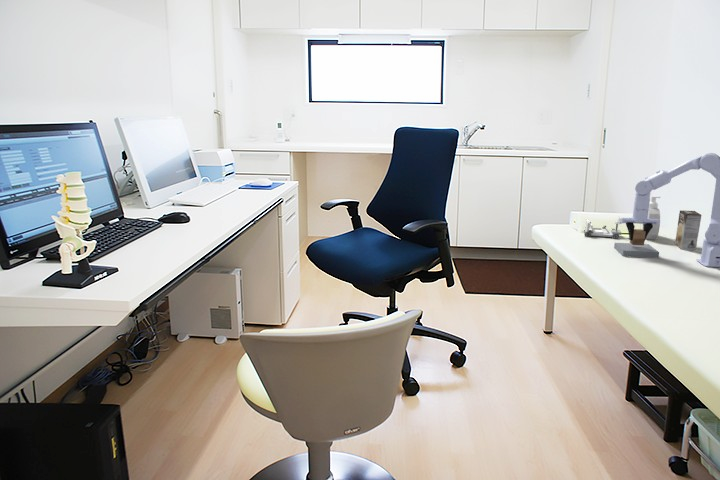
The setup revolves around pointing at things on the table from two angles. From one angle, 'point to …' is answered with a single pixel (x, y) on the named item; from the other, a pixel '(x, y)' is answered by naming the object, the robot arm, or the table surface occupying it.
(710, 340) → the table surface
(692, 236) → the coffee box
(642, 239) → the walnut block
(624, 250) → the grey box
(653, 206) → the soap bottle
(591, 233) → the toy rover
